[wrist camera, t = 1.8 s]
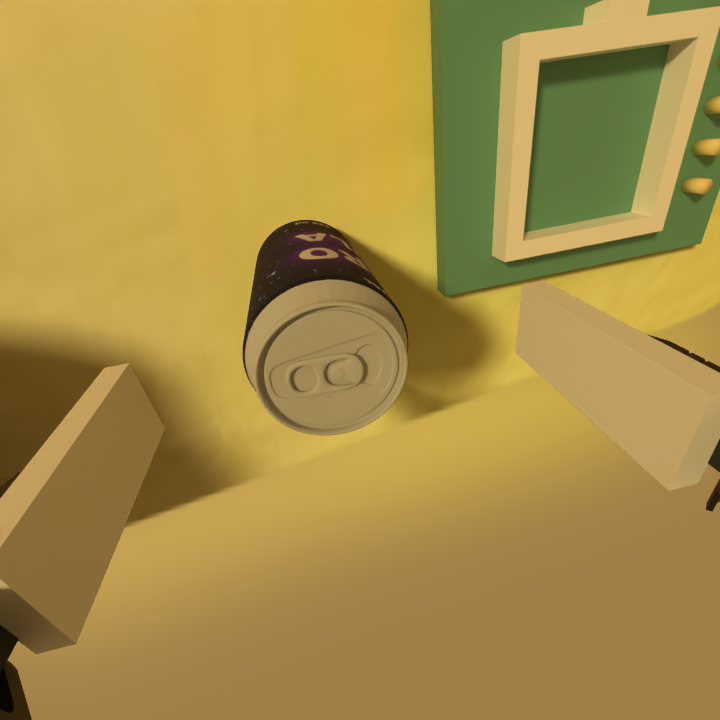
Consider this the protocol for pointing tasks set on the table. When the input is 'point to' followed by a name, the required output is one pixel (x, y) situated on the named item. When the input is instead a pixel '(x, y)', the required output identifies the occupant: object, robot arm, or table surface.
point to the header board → (570, 133)
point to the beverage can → (321, 333)
